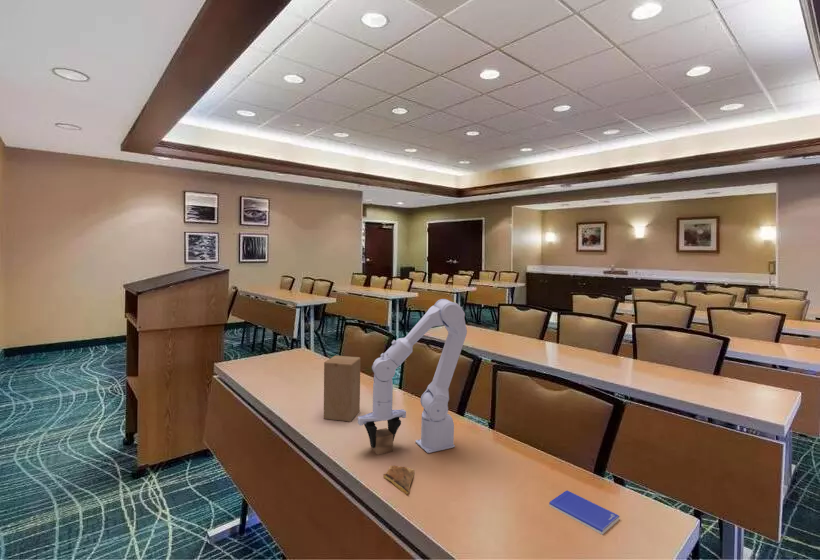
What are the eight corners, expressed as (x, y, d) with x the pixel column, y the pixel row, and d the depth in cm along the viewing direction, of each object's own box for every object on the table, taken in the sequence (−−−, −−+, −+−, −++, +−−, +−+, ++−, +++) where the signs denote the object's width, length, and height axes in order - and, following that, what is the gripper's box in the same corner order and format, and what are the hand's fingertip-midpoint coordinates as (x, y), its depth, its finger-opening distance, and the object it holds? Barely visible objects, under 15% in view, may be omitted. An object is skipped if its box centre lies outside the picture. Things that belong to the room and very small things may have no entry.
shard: (408, 498, 98) (408, 490, 97) (376, 494, 99) (377, 487, 99) (415, 474, 108) (415, 467, 108) (387, 470, 110) (387, 464, 109)
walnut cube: (386, 444, 124) (386, 427, 123) (392, 451, 119) (393, 434, 119) (370, 447, 122) (370, 430, 121) (376, 454, 117) (377, 437, 117)
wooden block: (350, 422, 139) (351, 364, 138) (322, 419, 141) (323, 361, 140) (360, 411, 149) (361, 357, 148) (334, 408, 151) (334, 355, 150)
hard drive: (619, 514, 91) (567, 489, 100) (602, 530, 85) (549, 501, 95) (619, 521, 91) (567, 495, 100) (602, 537, 86) (548, 508, 95)
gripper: (399, 391, 126) (398, 434, 127) (354, 398, 120) (353, 443, 121) (409, 399, 120) (408, 444, 121) (362, 406, 113) (361, 454, 114)
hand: (381, 444), depth 120 cm, fingers closed on walnut cube, 5 cm apart
